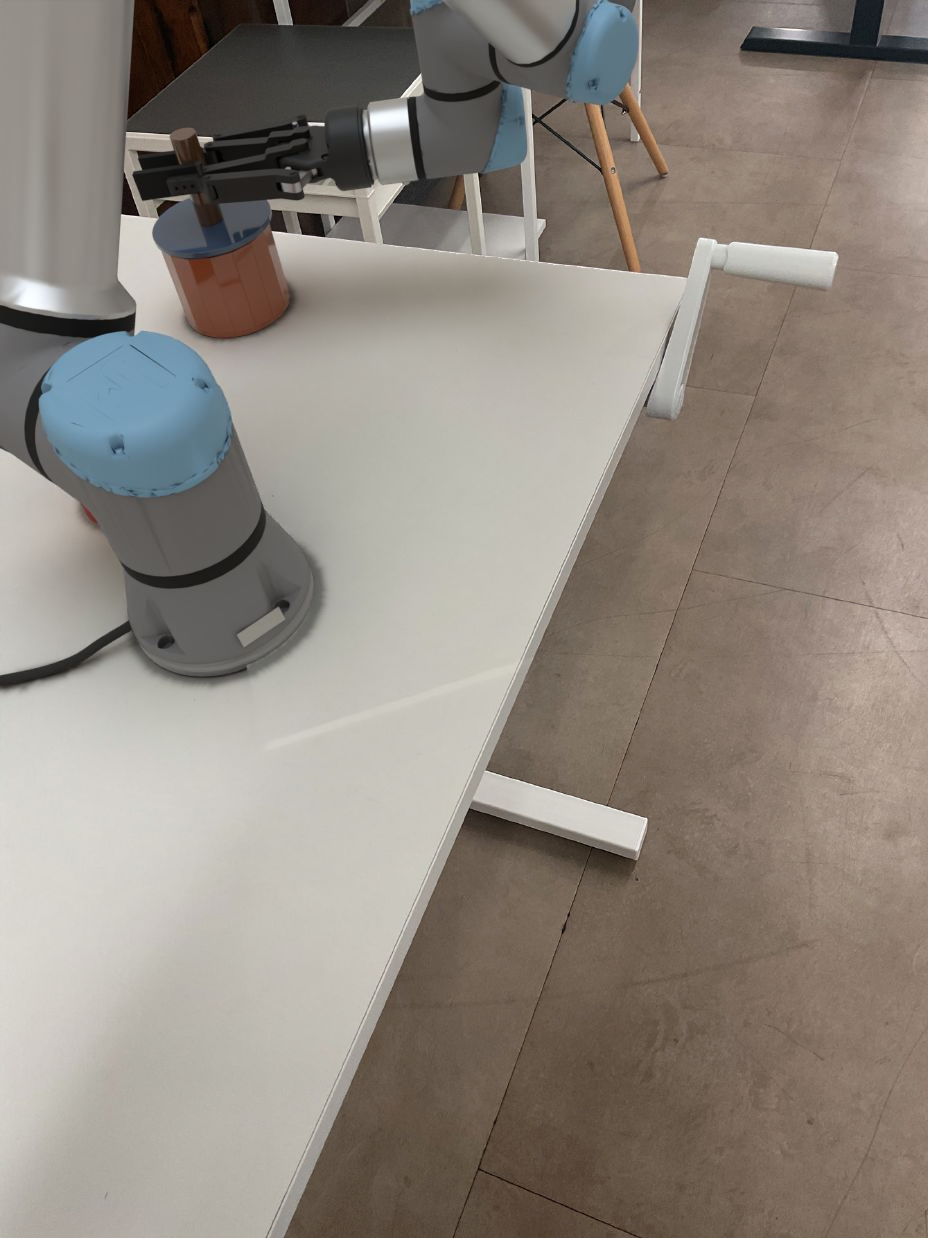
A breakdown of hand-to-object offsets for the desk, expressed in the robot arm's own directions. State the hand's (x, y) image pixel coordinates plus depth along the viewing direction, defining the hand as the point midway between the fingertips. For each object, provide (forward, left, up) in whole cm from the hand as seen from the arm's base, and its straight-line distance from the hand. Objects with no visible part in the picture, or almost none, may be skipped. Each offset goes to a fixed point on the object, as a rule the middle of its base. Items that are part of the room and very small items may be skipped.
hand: (141, 177), depth 102 cm
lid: (+5, -1, -6) cm, 8 cm away
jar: (+5, -1, -16) cm, 17 cm away
